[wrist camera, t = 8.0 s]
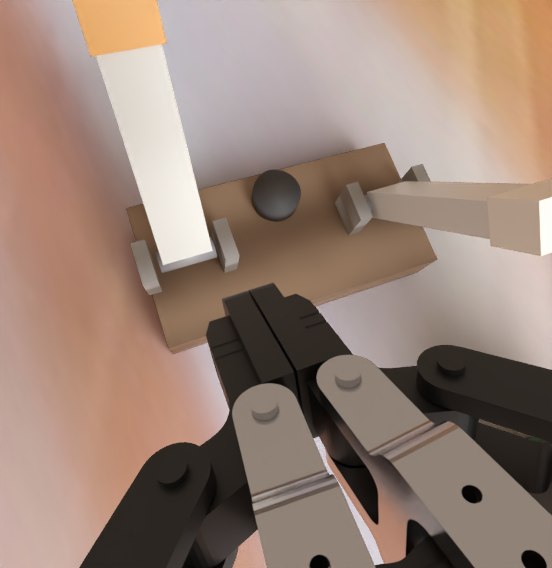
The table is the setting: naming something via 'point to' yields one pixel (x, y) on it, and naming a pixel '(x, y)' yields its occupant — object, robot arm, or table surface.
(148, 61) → the lever orange
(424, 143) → the table surface
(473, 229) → the lever ivory
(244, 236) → the console
